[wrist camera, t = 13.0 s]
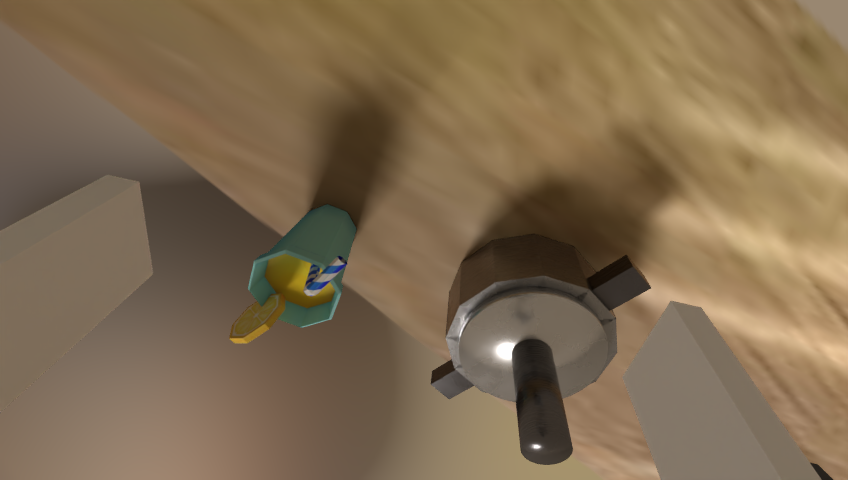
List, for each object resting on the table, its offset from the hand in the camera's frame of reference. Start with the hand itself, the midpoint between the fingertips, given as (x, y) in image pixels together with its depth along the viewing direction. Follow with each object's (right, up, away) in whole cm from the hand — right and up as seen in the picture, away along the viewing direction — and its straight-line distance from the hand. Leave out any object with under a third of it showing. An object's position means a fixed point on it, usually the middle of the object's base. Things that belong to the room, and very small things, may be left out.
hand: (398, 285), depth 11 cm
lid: (+10, -8, +29) cm, 32 cm away
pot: (+11, -5, +35) cm, 37 cm away
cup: (-8, +3, +33) cm, 34 cm away
